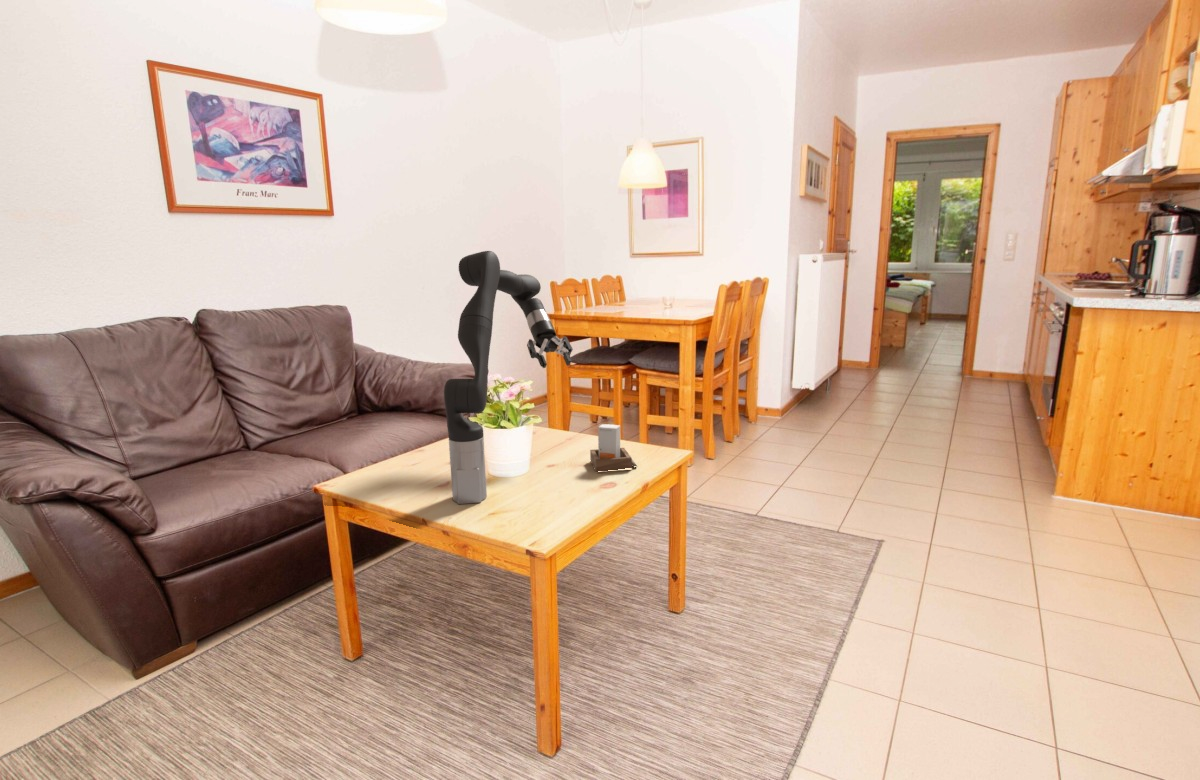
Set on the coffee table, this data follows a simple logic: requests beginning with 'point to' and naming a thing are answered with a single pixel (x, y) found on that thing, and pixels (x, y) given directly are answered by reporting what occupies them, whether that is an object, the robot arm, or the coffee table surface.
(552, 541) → the coffee table surface
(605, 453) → the skincare box
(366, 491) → the coffee table surface
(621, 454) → the box
